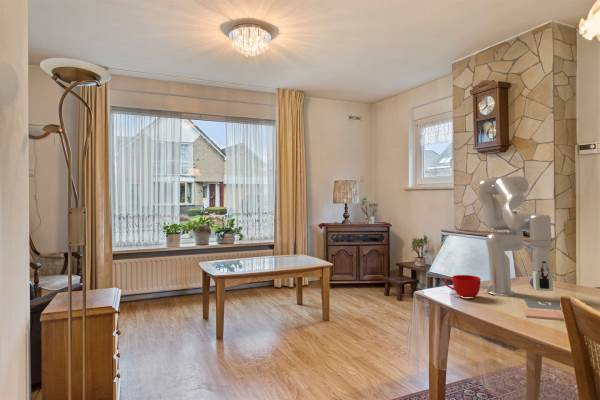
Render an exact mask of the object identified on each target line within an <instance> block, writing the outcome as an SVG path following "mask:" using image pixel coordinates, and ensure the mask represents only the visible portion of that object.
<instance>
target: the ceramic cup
mask: <svg viewBox="0 0 600 400" xmlns="http://www.w3.org/2000/svg"><path fill="white" fill-rule="evenodd" d="M447 280H449V281H451V283H452V285H453V287H452V286H450V285H448V283H447ZM480 284H481V278H480V277H479V276H477V275H471V274H470V275H469V274H456V275H453V276H452V278H449V277H447V278H445V279H444V285H445V286H446V287H447V288H449V289H451V290H453V291H455V293H456V295H458V296H459V295H460V296H463V297H474V298H475V297H476V296H478V295H479V292H480V291H481V290H480V289H481V288H480ZM460 296H459V297H460Z"/></svg>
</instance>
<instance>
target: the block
mask: <svg viewBox="0 0 600 400" xmlns="http://www.w3.org/2000/svg"><path fill="white" fill-rule="evenodd" d="M548 277H549V289H543V288H540V282H539V278H540V272H539V271H538V272H537V271H535V270H532V278H533V287H532V288H533V289H535V291H541V292H543V291H544V292H554V279H553V273H552V272H551V271H549V272H548Z"/></svg>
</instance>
